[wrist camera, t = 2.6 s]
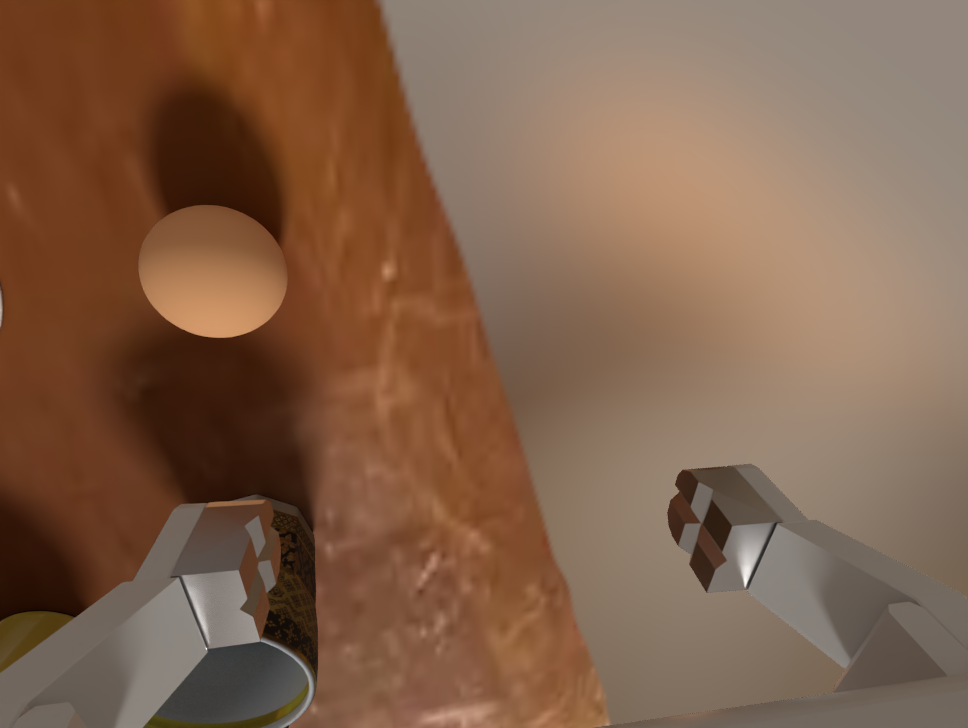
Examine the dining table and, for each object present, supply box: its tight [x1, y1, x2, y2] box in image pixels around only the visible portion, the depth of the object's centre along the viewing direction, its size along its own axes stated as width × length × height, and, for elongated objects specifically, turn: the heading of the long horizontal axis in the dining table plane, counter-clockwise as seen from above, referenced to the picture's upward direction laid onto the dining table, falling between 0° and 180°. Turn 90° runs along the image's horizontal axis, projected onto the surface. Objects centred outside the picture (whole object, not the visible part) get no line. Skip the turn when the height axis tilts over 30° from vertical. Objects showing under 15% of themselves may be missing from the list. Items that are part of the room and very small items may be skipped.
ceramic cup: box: [143, 495, 318, 728], centre depth 28 cm, size 13×10×10 cm
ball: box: [138, 205, 287, 338], centre depth 21 cm, size 6×6×6 cm
